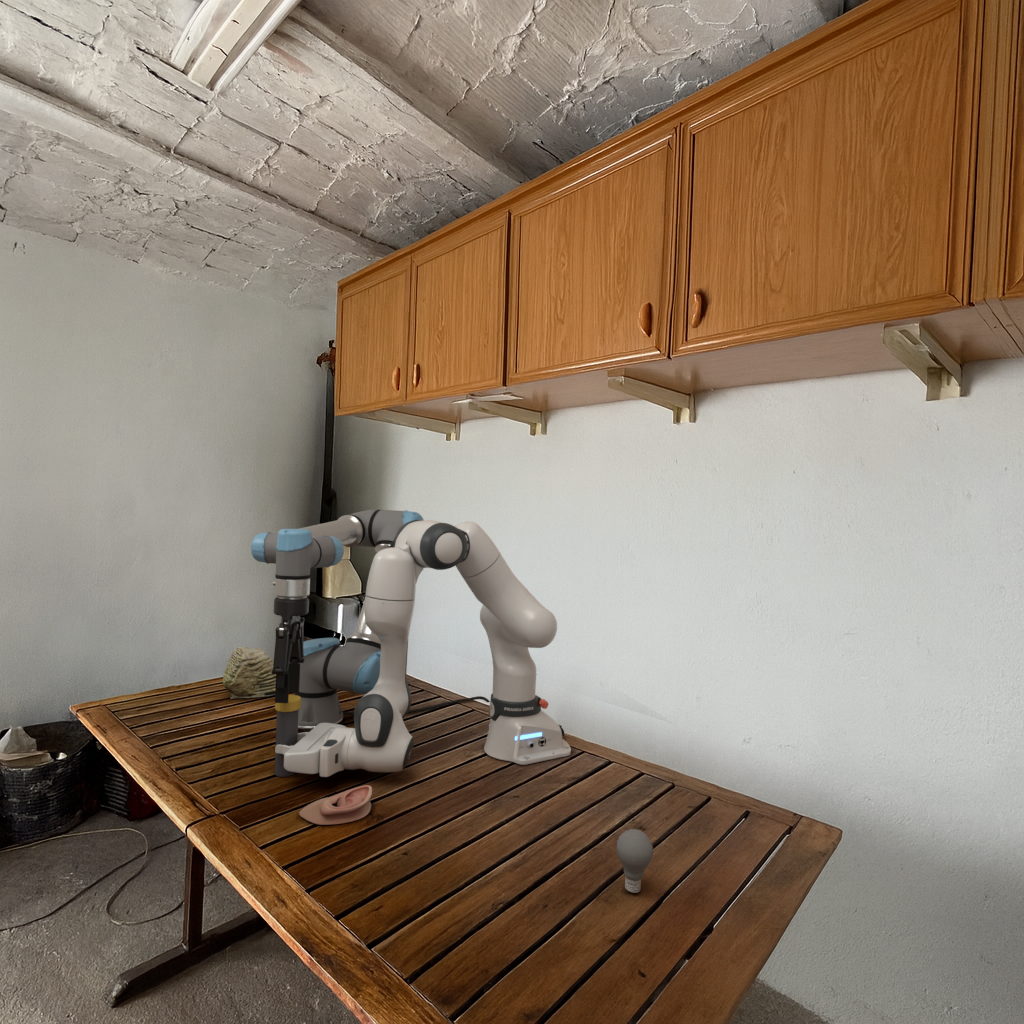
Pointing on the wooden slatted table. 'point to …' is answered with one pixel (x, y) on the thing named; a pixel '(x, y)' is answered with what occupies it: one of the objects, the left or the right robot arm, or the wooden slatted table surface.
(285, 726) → the jar
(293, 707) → the lid
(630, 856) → the light bulb
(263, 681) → the fossil
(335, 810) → the anatomical model
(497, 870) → the wooden slatted table surface
